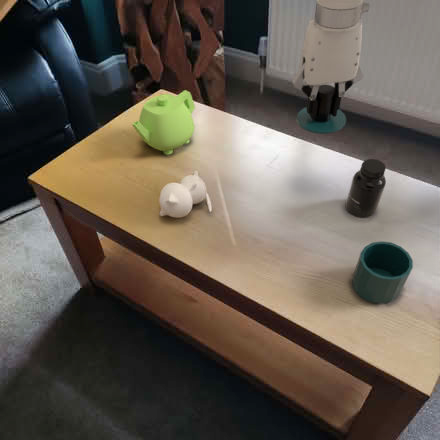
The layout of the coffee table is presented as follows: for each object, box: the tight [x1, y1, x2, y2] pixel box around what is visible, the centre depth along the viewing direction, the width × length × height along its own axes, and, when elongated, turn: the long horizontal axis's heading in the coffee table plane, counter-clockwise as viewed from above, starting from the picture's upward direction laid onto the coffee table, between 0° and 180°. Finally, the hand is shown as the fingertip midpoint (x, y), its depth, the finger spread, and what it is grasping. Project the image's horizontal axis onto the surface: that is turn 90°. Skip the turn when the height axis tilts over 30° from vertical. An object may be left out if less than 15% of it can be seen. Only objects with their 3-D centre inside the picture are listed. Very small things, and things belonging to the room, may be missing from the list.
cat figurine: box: [158, 170, 213, 219], centre depth 97 cm, size 9×11×12 cm
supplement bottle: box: [345, 158, 387, 219], centre depth 93 cm, size 7×7×12 cm
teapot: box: [131, 89, 196, 155], centre depth 111 cm, size 20×13×13 cm
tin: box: [351, 240, 414, 305], centre depth 82 cm, size 9×9×7 cm
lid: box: [296, 84, 347, 135], centre depth 86 cm, size 10×10×7 cm
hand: (322, 113), depth 88 cm, fingers closed on lid, 3 cm apart
